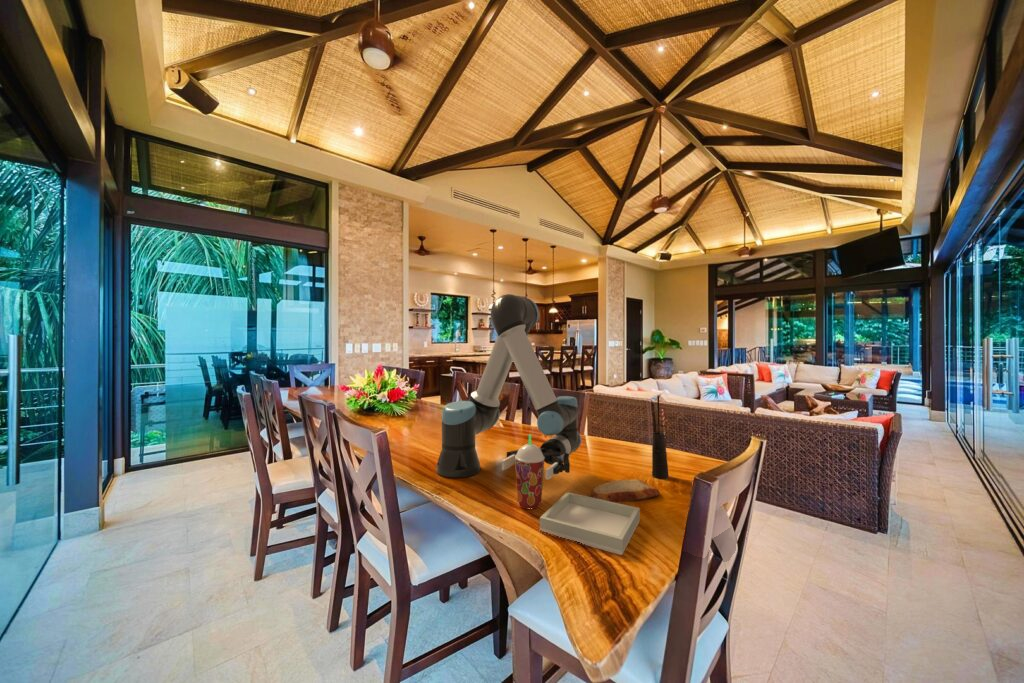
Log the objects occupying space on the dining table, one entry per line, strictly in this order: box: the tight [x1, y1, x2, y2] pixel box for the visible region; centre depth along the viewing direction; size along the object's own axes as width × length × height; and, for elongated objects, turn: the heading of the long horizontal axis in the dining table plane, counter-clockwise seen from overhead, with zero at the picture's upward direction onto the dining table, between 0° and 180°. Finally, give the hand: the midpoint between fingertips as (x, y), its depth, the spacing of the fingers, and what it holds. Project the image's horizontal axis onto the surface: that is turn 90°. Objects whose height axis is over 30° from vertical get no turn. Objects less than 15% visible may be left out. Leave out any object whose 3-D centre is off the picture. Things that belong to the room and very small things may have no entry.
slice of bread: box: [590, 478, 660, 503], centre depth 120 cm, size 18×18×4 cm
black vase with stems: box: [651, 394, 669, 480], centre depth 136 cm, size 9×10×28 cm
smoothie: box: [514, 433, 545, 510], centre depth 112 cm, size 8×8×20 cm
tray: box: [539, 492, 641, 556], centre depth 100 cm, size 20×18×4 cm
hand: (524, 469), depth 109 cm, fingers open, 13 cm apart
